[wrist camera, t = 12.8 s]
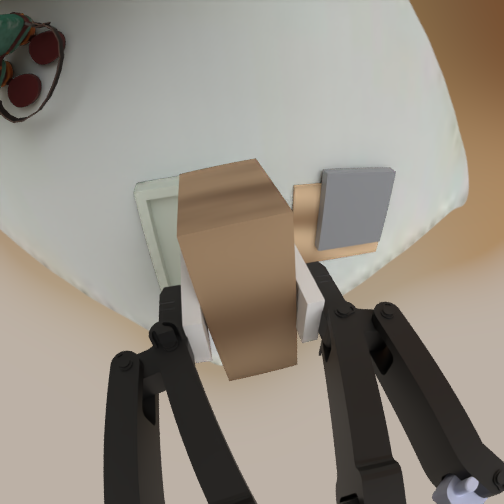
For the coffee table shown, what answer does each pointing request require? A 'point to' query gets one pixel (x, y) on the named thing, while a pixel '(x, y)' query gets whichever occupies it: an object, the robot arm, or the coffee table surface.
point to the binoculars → (41, 51)
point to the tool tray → (161, 226)
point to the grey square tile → (353, 206)
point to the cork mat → (306, 226)
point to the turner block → (241, 264)
